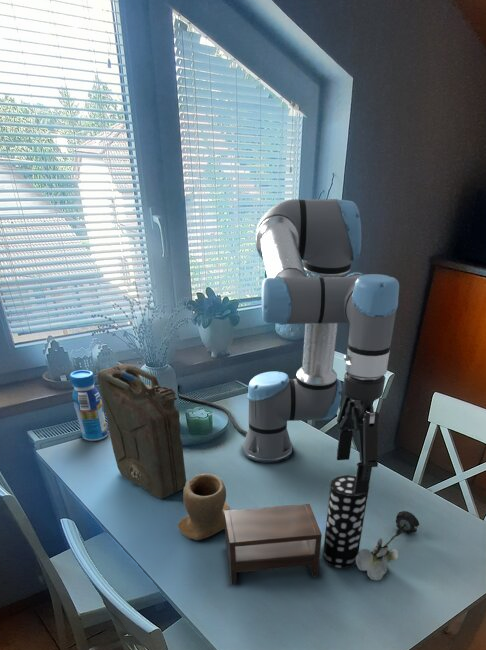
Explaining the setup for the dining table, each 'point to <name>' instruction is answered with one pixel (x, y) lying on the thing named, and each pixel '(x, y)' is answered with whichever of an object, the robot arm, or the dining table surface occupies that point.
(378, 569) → the artificial flower
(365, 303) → the robot arm
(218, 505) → the stone cup
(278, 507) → the rack
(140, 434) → the container
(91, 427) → the beverage bottle
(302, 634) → the dining table surface
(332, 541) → the spotted tube
